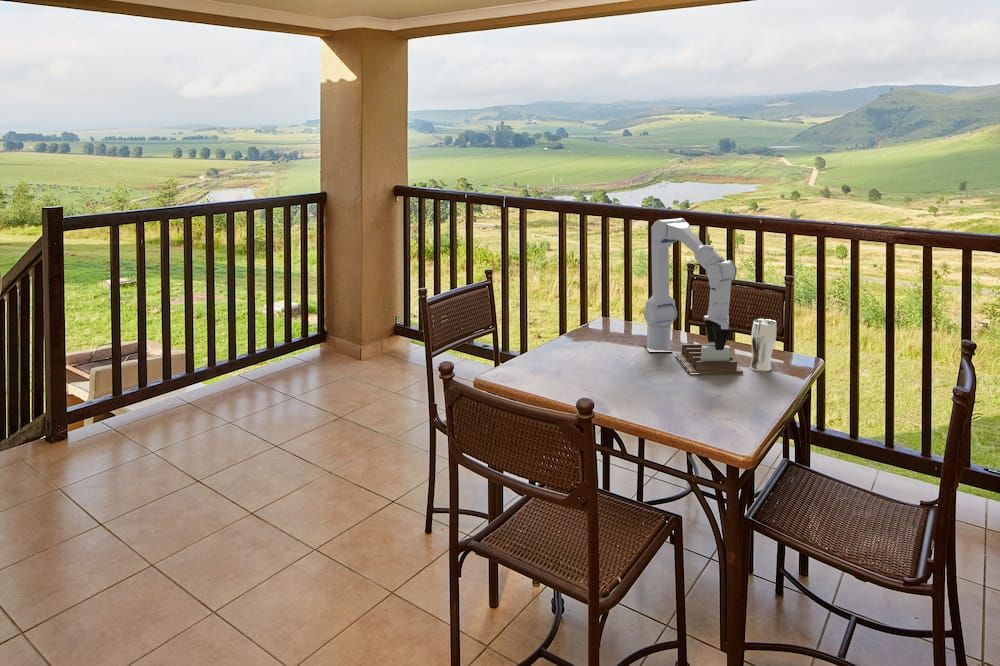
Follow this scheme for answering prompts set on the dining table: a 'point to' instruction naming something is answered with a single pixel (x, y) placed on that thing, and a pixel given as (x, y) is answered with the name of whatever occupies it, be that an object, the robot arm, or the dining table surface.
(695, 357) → the rack
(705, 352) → the tile
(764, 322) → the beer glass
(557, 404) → the dining table surface
